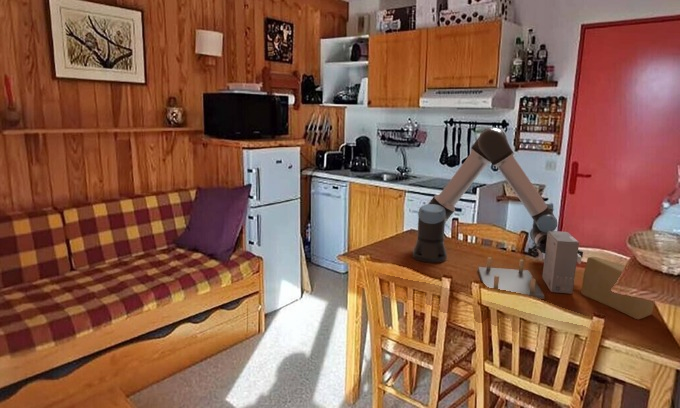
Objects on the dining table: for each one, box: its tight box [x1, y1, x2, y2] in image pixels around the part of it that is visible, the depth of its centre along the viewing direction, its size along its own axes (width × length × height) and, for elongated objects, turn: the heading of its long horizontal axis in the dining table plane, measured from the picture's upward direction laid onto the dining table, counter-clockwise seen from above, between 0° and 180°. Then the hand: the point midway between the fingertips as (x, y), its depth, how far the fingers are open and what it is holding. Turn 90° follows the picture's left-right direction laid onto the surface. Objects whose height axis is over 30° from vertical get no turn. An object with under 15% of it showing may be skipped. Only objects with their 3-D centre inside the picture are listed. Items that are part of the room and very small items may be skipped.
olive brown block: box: [580, 256, 655, 320], centre depth 157 cm, size 22×10×15 cm, turn 30°
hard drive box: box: [542, 230, 580, 295], centre depth 173 cm, size 16×8×20 cm, turn 168°
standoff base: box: [477, 257, 545, 300], centre depth 175 cm, size 20×26×6 cm
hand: (560, 259), depth 172 cm, fingers open, 13 cm apart
